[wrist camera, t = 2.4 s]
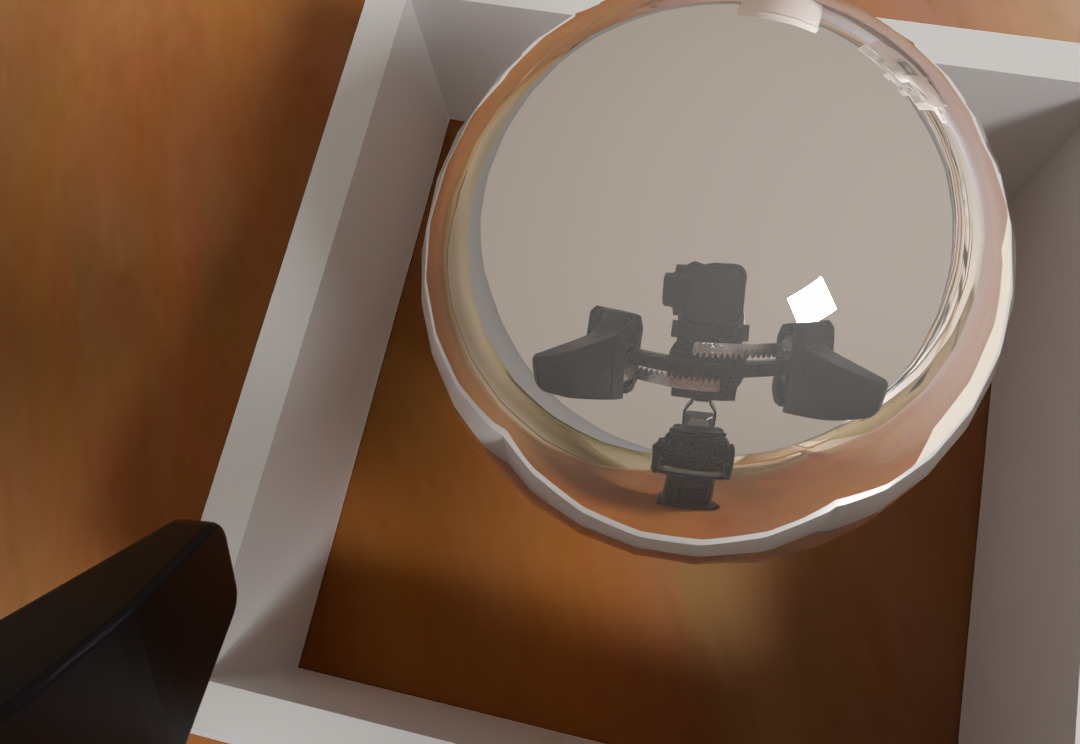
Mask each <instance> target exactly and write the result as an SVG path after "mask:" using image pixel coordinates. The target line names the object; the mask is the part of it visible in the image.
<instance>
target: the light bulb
mask: <svg viewBox="0 0 1080 744" xmlns="http://www.w3.org/2000/svg"><path fill="white" fill-rule="evenodd" d="M1015 272H1016V239H1015V234H1014V229H1013V224H1012V219H1011V213H1010V208H1009V203H1008V198H1007V192H1006V188H1005V185H1004V182H1003V178H1002V175H1001V171H1000V168H999V165H998V163H997V161H996V158H995V156H994V154H993V151H992V149H991V147H990V144H989V142H988V140H987V137H986V135H985V133H984V130H983V128H982V125H981V123H980V121H979V119H978V118H977V116H976V115H975V113H974V112H973V111H972V109H971V108H970V106H969V105H968V103H967V102H966V100H965V99H964V98H963V96H962V95H961V93H960V92H959V90H958V89H957V87H956V86H955V85H954V83H953V82H952V80H951V79H950V78H949V77H948V76H947V75H946V74H945V73H944V72H943V71H942V70H941V69H940V68H939V67H938V66H937V65H936V64H935V63H934V62H933V61H932V60H931V59H930V58H929V57H928V56H927V55H926V54H925V53H924V52H923V51H922V50H920V49H919V48H918V47H917V46H916V45H915V44H914V43H913V42H912V41H910V40H909V39H907V38H906V37H904V36H903V35H901V34H900V33H898V32H897V31H895V30H894V29H892V28H891V27H889V26H888V25H886V24H885V23H883V22H882V21H880V20H879V19H877V18H876V17H874V16H873V15H871V14H870V13H868V12H866V11H864V10H863V9H861V8H858V7H856V6H854V5H852V4H849V3H847V2H845V1H842V0H605V1H602V2H600V3H598V4H596V5H593V6H591V7H589V8H586V9H584V10H582V11H580V12H577V13H576V14H574V15H573V16H571V17H570V18H568V19H567V20H565V21H564V22H562V23H561V24H559V25H558V26H556V27H555V28H553V29H552V30H550V31H549V32H547V33H546V34H544V35H543V36H541V37H540V38H538V39H537V40H535V41H534V42H533V43H532V44H531V45H530V46H529V47H528V48H527V49H526V50H525V51H524V52H523V53H522V54H521V55H520V56H519V57H518V58H517V59H516V60H515V61H514V62H513V63H512V64H510V65H509V66H508V67H507V68H506V69H505V70H504V71H503V72H502V73H501V74H500V76H499V77H498V78H497V79H496V80H495V82H494V83H493V84H492V85H491V86H490V88H489V89H488V90H487V91H486V93H485V94H484V96H483V97H482V98H481V100H480V101H479V103H478V104H477V106H476V107H475V108H474V110H473V111H472V113H471V114H470V115H469V117H468V118H467V120H466V121H465V123H464V124H463V125H462V127H461V128H460V130H459V131H458V133H457V135H456V137H455V139H454V142H453V144H452V146H451V148H450V151H449V153H448V155H447V157H446V160H445V162H444V164H443V166H442V169H441V171H440V173H439V175H438V177H437V182H436V186H435V191H434V195H433V200H432V204H431V209H430V214H429V218H428V223H427V227H426V232H425V237H424V242H423V247H422V288H421V303H422V308H423V313H424V318H425V323H426V328H427V333H428V337H429V342H430V347H431V352H432V356H433V359H434V362H435V365H436V368H437V371H438V374H439V376H440V378H441V380H442V383H443V385H444V387H445V390H446V392H447V394H448V397H449V399H450V401H451V404H452V406H453V408H454V411H455V413H456V415H457V418H458V420H459V422H460V423H461V424H462V426H463V427H464V429H465V430H466V432H467V433H468V434H469V436H470V437H471V439H472V440H473V441H474V443H475V444H476V446H477V447H478V449H479V450H480V451H481V453H482V454H483V456H484V457H485V459H486V460H487V461H488V463H489V464H490V465H491V466H492V467H493V468H494V469H495V470H496V471H497V472H498V473H499V474H500V475H501V476H502V477H503V478H504V479H505V480H506V481H508V482H509V483H510V484H511V485H512V486H513V487H514V488H515V489H516V490H517V491H518V492H519V493H520V494H521V495H522V496H523V497H525V498H526V499H527V500H528V501H529V502H530V503H531V504H533V505H534V506H536V507H537V508H539V509H541V510H542V511H544V512H545V513H547V514H549V515H550V516H552V517H553V518H555V519H557V520H558V521H560V522H561V523H563V524H565V525H566V526H568V527H570V528H571V529H573V530H574V531H576V532H578V533H579V534H581V535H584V536H587V537H589V538H592V539H595V540H597V541H600V542H603V543H605V544H608V545H611V546H613V547H616V548H619V549H621V550H624V551H627V552H629V553H632V554H635V555H640V556H646V557H652V558H658V559H664V560H670V561H676V562H682V563H688V564H724V563H753V562H759V561H763V560H767V559H771V558H775V557H780V556H784V555H788V554H792V553H796V552H801V551H805V550H809V549H813V548H815V547H817V546H820V545H822V544H824V543H826V542H828V541H830V540H832V539H835V538H837V537H839V536H841V535H843V534H845V533H847V532H849V531H852V530H854V529H856V528H858V527H860V526H862V525H864V524H867V523H868V522H869V521H871V520H872V519H873V518H875V517H876V516H877V515H878V514H880V513H881V512H882V511H884V510H885V509H886V508H888V507H889V506H890V505H892V504H893V503H894V502H896V501H897V500H898V499H900V498H901V497H902V496H903V495H905V494H906V493H907V492H909V491H910V490H911V489H913V488H914V487H915V486H916V485H917V484H918V483H919V482H920V481H921V480H922V479H924V478H925V477H926V476H927V475H928V474H929V473H930V472H931V470H932V469H933V468H934V467H935V466H936V465H937V463H938V462H939V461H940V460H941V459H942V457H943V456H944V455H945V454H946V453H947V452H948V450H949V449H950V448H951V447H952V446H953V445H954V443H955V442H956V441H957V440H958V439H959V438H960V436H961V435H962V434H963V433H964V432H965V430H966V429H967V428H968V426H969V424H970V422H971V420H972V418H973V416H974V414H975V412H976V410H977V408H978V407H979V405H980V403H981V401H982V399H983V397H984V395H985V393H986V391H987V389H988V387H989V386H990V384H991V382H992V380H993V378H994V374H995V371H996V367H997V363H998V360H999V356H1000V352H1001V349H1002V345H1003V341H1004V337H1005V333H1006V330H1007V326H1008V322H1009V318H1010V315H1011V311H1012V307H1013V303H1014V299H1015Z"/></svg>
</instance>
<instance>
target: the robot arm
mask: <svg viewBox="0 0 1080 744" xmlns="http://www.w3.org/2000/svg"><path fill="white" fill-rule="evenodd" d="M236 603H237V586H236V581H235V576H234V571H233V566H232V562H231V557H230V552H229V548H228V543H227V538H226V535H225V532H224V530H223V528H222V527H221V526H220V525H219V524H217V523H215V522H209V521H198V520H187V519H181V520H175V521H173V522H171V523H169V524H167V525H165V526H163V527H161V528H160V529H158V530H156V531H154V532H153V533H151V534H149V535H148V536H146V537H144V538H142V539H141V540H139V541H137V542H135V543H134V544H132V545H130V546H128V547H127V548H125V549H123V550H121V551H120V552H118V553H116V554H114V555H113V556H111V557H109V558H107V559H106V560H104V561H102V562H100V563H99V564H97V565H95V566H93V567H92V568H90V569H88V570H87V571H85V572H83V573H81V574H80V575H78V576H76V577H74V578H73V579H71V580H69V581H67V582H66V583H64V584H62V585H60V586H59V587H57V588H55V589H53V590H52V591H50V592H48V593H46V594H45V595H43V596H41V597H39V598H38V599H36V600H34V601H32V602H31V603H29V604H27V605H26V606H24V607H22V608H20V609H19V610H17V611H15V612H13V613H12V614H10V615H8V616H6V617H5V618H3V619H1V620H0V744H186V742H187V740H188V737H189V735H190V732H191V729H192V727H193V724H194V721H195V718H196V716H197V713H198V710H199V708H200V705H201V702H202V699H203V697H204V694H205V691H206V689H207V686H208V683H209V681H210V678H211V675H212V672H213V670H214V667H215V664H216V662H217V659H218V656H219V653H220V651H221V648H222V645H223V643H224V640H225V637H226V634H227V632H228V629H229V626H230V624H231V621H232V618H233V615H234V612H235V608H236Z"/></svg>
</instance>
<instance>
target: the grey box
mask: <svg viewBox="0 0 1080 744" xmlns="http://www.w3.org/2000/svg"><path fill="white" fill-rule="evenodd" d="M602 1H605V0H365V3H364V7H363V10H362V13H361V16H360V19H359V22H358V26H357V29H356V32H355V35H354V38H353V41H352V44H351V48H350V51H349V54H348V57H347V60H346V63H345V67H344V70H343V73H342V76H341V79H340V82H339V86H338V89H337V92H336V95H335V98H334V101H333V104H332V108H331V111H330V114H329V117H328V120H327V123H326V127H325V130H324V133H323V136H322V139H321V142H320V146H319V149H318V152H317V155H316V158H315V161H314V164H313V168H312V171H311V174H310V177H309V180H308V183H307V187H306V190H305V193H304V196H303V199H302V202H301V205H300V209H299V212H298V215H297V218H296V221H295V224H294V228H293V231H292V234H291V237H290V240H289V243H288V247H287V250H286V253H285V256H284V259H283V262H282V265H281V269H280V272H279V275H278V278H277V281H276V284H275V288H274V291H273V294H272V297H271V300H270V303H269V306H268V310H267V313H266V316H265V319H264V322H263V325H262V329H261V332H260V335H259V338H258V341H257V344H256V348H255V351H254V354H253V357H252V360H251V363H250V366H249V370H248V373H247V376H246V379H245V382H244V385H243V389H242V392H241V395H240V398H239V401H238V404H237V407H236V411H235V414H234V417H233V420H232V423H231V426H230V430H229V433H228V436H227V439H226V442H225V445H224V449H223V452H222V455H221V458H220V461H219V464H218V467H217V471H216V474H215V477H214V480H213V483H212V486H211V490H210V493H209V496H208V499H207V502H206V505H205V509H204V512H203V515H202V518H201V521H209V522H215V523H217V524H219V525H220V526H221V527H222V528H223V530H224V532H225V535H226V538H227V543H228V548H229V552H230V557H231V562H232V566H233V571H234V576H235V581H236V586H237V603H236V608H235V612H234V615H233V618H232V621H231V624H230V626H229V629H228V632H227V634H226V637H225V640H224V643H223V645H222V648H221V651H220V653H219V656H218V659H217V662H216V664H215V667H214V670H213V672H212V675H211V678H210V681H209V683H208V686H207V689H206V691H205V694H204V697H203V699H202V702H201V705H200V708H199V710H198V713H197V716H196V718H195V721H194V724H193V727H192V729H191V732H190V733H192V734H196V735H199V736H203V737H207V738H211V739H215V740H218V741H222V742H226V743H230V744H605V743H601V742H597V741H593V740H589V739H585V738H581V737H577V736H573V735H569V734H565V733H561V732H556V731H552V730H548V729H544V728H540V727H536V726H532V725H528V724H524V723H520V722H516V721H512V720H508V719H504V718H500V717H496V716H492V715H488V714H484V713H480V712H476V711H472V710H468V709H464V708H460V707H455V706H451V705H447V704H443V703H439V702H435V701H431V700H427V699H423V698H419V697H415V696H411V695H407V694H403V693H399V692H395V691H391V690H387V689H383V688H379V687H375V686H371V685H367V684H363V683H359V682H354V681H350V680H346V679H342V678H338V677H334V676H330V675H326V674H322V673H318V672H314V671H310V670H306V669H302V668H298V665H299V662H300V658H301V655H302V651H303V647H304V644H305V640H306V636H307V633H308V629H309V626H310V622H311V618H312V615H313V611H314V608H315V604H316V600H317V597H318V593H319V590H320V586H321V582H322V579H323V575H324V572H325V568H326V564H327V561H328V557H329V553H330V550H331V546H332V543H333V539H334V535H335V532H336V528H337V525H338V521H339V517H340V514H341V510H342V507H343V503H344V499H345V496H346V492H347V489H348V485H349V481H350V478H351V474H352V471H353V467H354V463H355V460H356V456H357V452H358V449H359V445H360V442H361V438H362V434H363V431H364V427H365V424H366V420H367V416H368V413H369V409H370V406H371V402H372V398H373V395H374V391H375V388H376V384H377V380H378V377H379V373H380V369H381V366H382V362H383V359H384V355H385V351H386V348H387V344H388V341H389V337H390V333H391V330H392V326H393V323H394V319H395V315H396V312H397V308H398V305H399V301H400V297H401V294H402V290H403V286H404V283H405V279H406V276H407V272H408V268H409V265H410V261H411V258H412V254H413V250H414V247H415V243H416V240H417V236H418V232H419V229H420V225H421V222H422V218H423V214H424V211H425V207H426V204H427V200H428V196H429V193H430V189H431V185H432V182H433V178H434V175H435V171H436V167H437V164H438V160H439V157H440V153H441V149H442V146H443V142H444V139H445V135H446V131H447V128H448V124H449V121H450V119H451V120H458V121H466V120H467V118H468V117H469V115H470V114H471V113H472V111H473V110H474V108H475V107H476V106H477V104H478V103H479V101H480V100H481V98H482V97H483V96H484V94H485V93H486V91H487V90H488V89H489V88H490V86H491V85H492V84H493V83H494V82H495V80H496V79H497V78H498V77H499V76H500V74H501V73H502V72H503V71H504V70H505V69H506V68H507V67H508V66H509V65H510V64H512V63H513V62H514V61H515V60H516V59H517V58H518V57H519V56H520V55H521V54H522V53H523V52H524V51H525V50H526V49H527V48H528V47H529V46H530V45H531V44H532V43H533V42H534V41H535V40H537V39H538V38H540V37H541V36H543V35H544V34H546V33H547V32H549V31H550V30H552V29H553V28H555V27H556V26H558V25H559V24H561V23H562V22H564V21H565V20H567V19H568V18H570V17H571V16H573V15H574V14H576V13H577V12H580V11H582V10H584V9H586V8H589V7H591V6H593V5H596V4H598V3H600V2H602ZM877 19H879V20H880V21H882V22H883V23H885V24H886V25H888V26H889V27H891V28H892V29H894V30H895V31H897V32H898V33H900V34H901V35H903V36H904V37H906V38H907V39H909V40H910V41H912V42H913V43H914V44H915V45H916V46H917V47H918V48H919V49H920V50H922V51H923V52H924V53H925V54H926V55H927V56H928V57H929V58H930V59H931V60H932V61H933V62H934V63H935V64H936V65H937V66H938V67H939V68H940V69H941V70H942V71H943V72H944V73H945V74H946V75H947V76H948V77H949V78H950V79H951V80H952V82H953V83H954V85H955V86H956V87H957V89H958V90H959V92H960V93H961V95H962V96H963V98H964V99H965V100H966V102H967V103H968V105H969V106H970V108H971V109H972V111H973V112H974V113H975V115H976V116H977V118H978V119H979V121H980V123H981V125H982V128H983V130H984V133H985V135H986V137H987V140H988V142H989V144H990V147H991V149H992V151H993V154H994V156H995V158H996V161H997V163H998V165H999V168H1000V171H1001V175H1002V178H1003V182H1004V185H1005V188H1006V192H1007V198H1008V203H1009V208H1010V213H1011V219H1012V224H1013V229H1014V234H1015V239H1016V272H1015V299H1014V303H1013V307H1012V311H1011V315H1010V318H1009V322H1008V326H1007V330H1006V333H1005V337H1004V341H1003V345H1002V349H1001V352H1000V356H999V360H998V363H997V367H996V371H995V374H994V378H993V380H992V385H991V395H990V406H989V417H988V427H987V438H986V449H985V460H984V470H983V481H982V492H981V503H980V513H979V524H978V535H977V546H976V556H975V567H974V578H973V588H972V599H971V610H970V621H969V631H968V642H967V653H966V664H965V674H964V685H963V696H962V706H961V717H960V728H959V739H958V744H1080V43H1073V42H1066V41H1058V40H1050V39H1042V38H1034V37H1026V36H1018V35H1010V34H1003V33H995V32H987V31H979V30H971V29H963V28H955V27H947V26H939V25H932V24H924V23H916V22H908V21H900V20H892V19H884V18H877Z"/></svg>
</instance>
